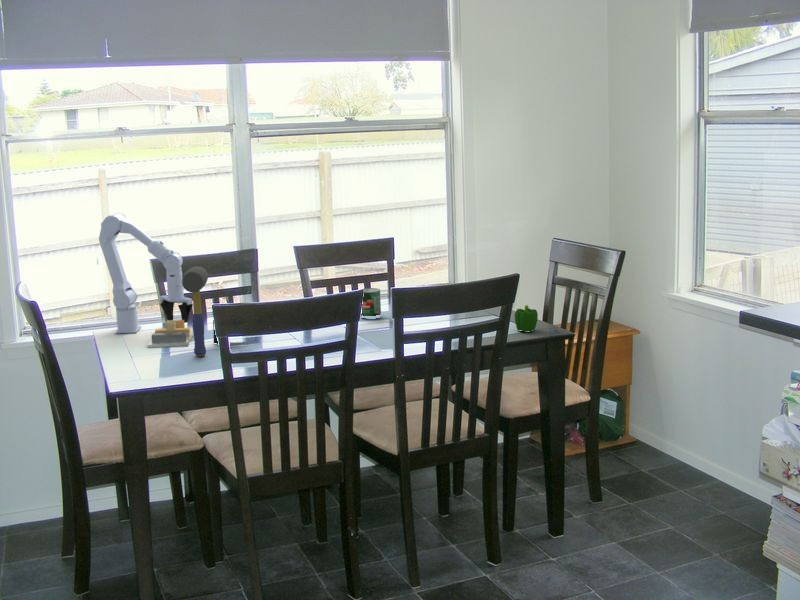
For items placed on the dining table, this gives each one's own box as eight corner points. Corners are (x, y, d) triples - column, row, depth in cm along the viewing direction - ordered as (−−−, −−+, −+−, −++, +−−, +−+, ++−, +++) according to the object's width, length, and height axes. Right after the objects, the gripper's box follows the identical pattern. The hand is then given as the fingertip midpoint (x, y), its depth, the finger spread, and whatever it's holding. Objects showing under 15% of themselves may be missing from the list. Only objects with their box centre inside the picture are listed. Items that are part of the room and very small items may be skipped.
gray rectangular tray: (158, 331, 347) (158, 322, 346) (196, 330, 348) (196, 320, 347) (147, 347, 323) (146, 337, 323) (188, 345, 324) (187, 336, 324)
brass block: (168, 336, 334) (166, 320, 333) (176, 336, 334) (175, 320, 333) (166, 339, 330) (165, 323, 329) (175, 339, 330) (173, 322, 329)
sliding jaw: (160, 330, 344) (159, 320, 343) (192, 329, 345) (192, 319, 344) (155, 337, 333) (154, 327, 333) (189, 335, 334) (188, 325, 334)
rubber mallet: (209, 360, 304) (203, 270, 298) (186, 361, 304) (179, 271, 298) (214, 351, 317) (208, 264, 311) (192, 351, 316) (186, 265, 310)
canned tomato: (383, 315, 365) (382, 288, 363) (378, 320, 358) (378, 292, 355) (363, 315, 367) (362, 287, 364) (358, 319, 359) (357, 291, 357)
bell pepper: (516, 328, 340) (517, 301, 338) (539, 329, 337) (539, 302, 335) (511, 333, 332) (511, 306, 330) (534, 334, 329) (534, 307, 327)
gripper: (153, 286, 345) (156, 321, 348) (181, 289, 337) (184, 325, 340) (167, 282, 351) (169, 317, 354) (195, 285, 343) (197, 321, 346)
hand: (177, 321), depth 347 cm, fingers open, 7 cm apart
